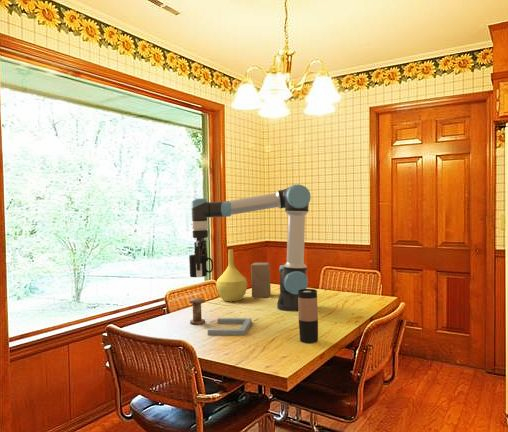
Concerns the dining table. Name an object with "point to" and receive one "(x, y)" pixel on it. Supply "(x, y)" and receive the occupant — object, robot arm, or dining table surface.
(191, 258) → the mug
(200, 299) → the bobbin post
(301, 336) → the travel mug
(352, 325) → the dining table surface
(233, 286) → the vase
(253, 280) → the wooden block
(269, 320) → the dining table surface
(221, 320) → the notch board
